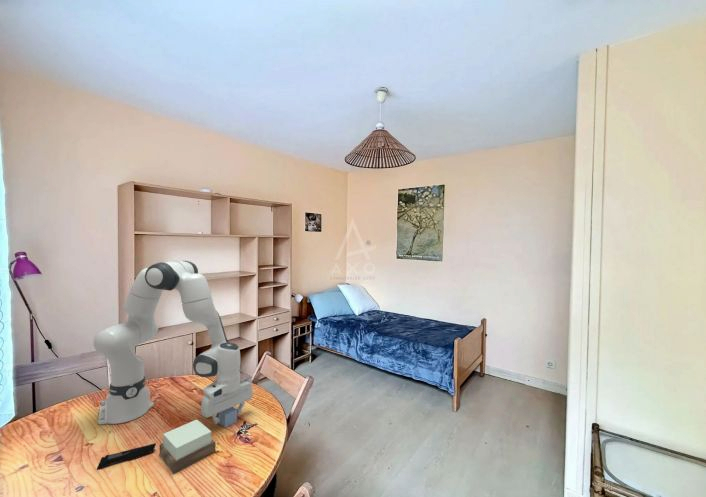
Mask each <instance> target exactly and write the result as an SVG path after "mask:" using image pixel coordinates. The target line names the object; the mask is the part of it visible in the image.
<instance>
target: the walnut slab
mask: <svg viewBox="0 0 706 497" xmlns="http://www.w3.org/2000/svg"><path fill="white" fill-rule="evenodd" d="M215 453H216V441H215V440H214V439H213V438H212V437H211V443H210V444H208V445H206V446H204V447H202V448H200V449H198V450H196V451H195V452H193V453H191V454H189V455H187V456H185V457H183V458H181V459H179V460H177V461H176V460H175V459H174V458H173V457H172V456H171V454H170V453H169V452H168V451H167V450H166V449H165V448H164V446H163V442H161V444H160V443H159V456H160V458H161V459H162V461H163V462H164V463H165V465H166V466H167V467H168V469H169V470H170V472H171V473H172V474H173V475H174V474H177V473H179V472H180V471H183V470H184V469H186V468H188V467H190V466H192V465H193V464H196V463H198V462H200V461H201V460H204V459H206V458H207V457H210V456H211V455H213V454H215Z"/></svg>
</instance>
